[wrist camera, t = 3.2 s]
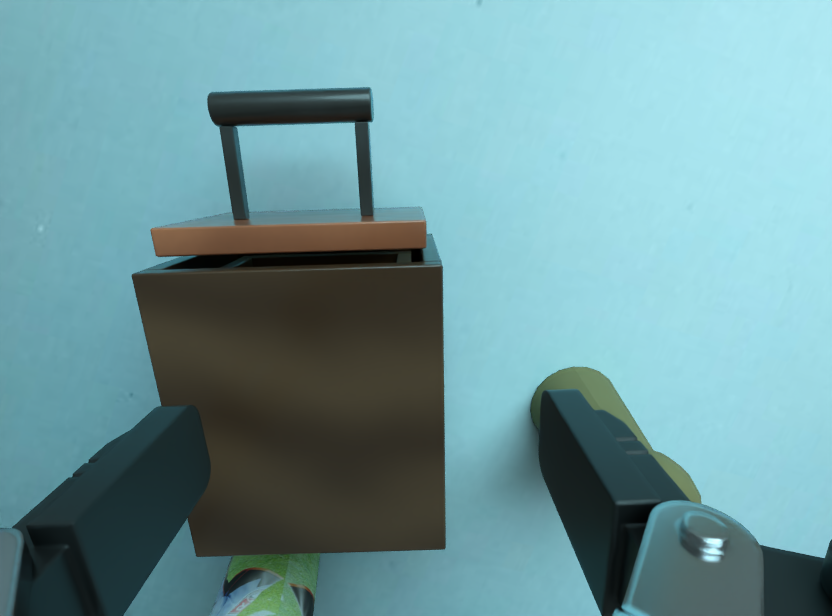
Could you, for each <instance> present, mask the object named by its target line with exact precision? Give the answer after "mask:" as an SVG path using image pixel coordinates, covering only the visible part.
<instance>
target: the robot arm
mask: <svg viewBox="0 0 832 616" xmlns="http://www.w3.org/2000/svg"><path fill="white" fill-rule="evenodd" d="M539 461H540V467H541V472H542V475H543V478H544V480H545V483H546V485H547V487H548V490H549V492H550V494H551V497H552V499H553V502H554V504H555V506H556V509H557V511H558V513H559V516H560V518H561V520H562V523H563V525H564V528H565V530H566V532H567V535H568V537H569V539H570V542H571V544H572V546H573V549H574V551H575V554H576V556H577V558H578V561H579V563H580V565H581V568H582V570H583V572H584V575H585V577H586V580H587V582H588V584H589V587H590V589H591V591H592V594H593V596H594V598H595V601H596V603H597V606H598V608H599V610H600V613H601V615H602V616H832V540H831V541H830V543H829V547H828V550H827V553H826V556H825V558H820V557H815V556H810V555H805V554H800V553H795V552H790V551H785V550H780V549H776V548H771V547H767V546H763V545H759V543H758V542H757V540H756V539H755V538H754V536H753V535H752V534H751V533H750V532H749V531H748V530H747V529H746V528H745V527H744V526H743V525H741V524H740V523H739V522H737V521H736V520H735V519H733V518H731V517H730V516H728V515H726V514H725V513H723V512H721V511H718V510H716V509H714V508H711V507H709V506H706V505H703V504H700V503H695V502H691V501H690V500H689V498H688V497H687V496H686V495H685V494H684V493H683V491H682V490H681V489H680V488H679V487H678V485H677V484H676V483H675V482H674V481H673V479H672V478H671V477H670V476H669V475H668V474H667V472H666V471H665V470H664V469H663V468H662V466H661V465H660V464H659V463H658V462H657V460H656V459H655V458H654V457H653V456H652V454H649V453H648V450H647V449H646V447H645V446H644V445H643V444H642V443H641V441H638V440H637V437H636V435H635V434H634V433H633V432H632V431H631V430H630V428H629V427H628V426H627V425H626V424H625V422H623V421H622V420H620V419H618V418H617V417H615V416H614V415H612V414H610V413H609V412H607V411H605V410H594V409H593V408H592V407H591V405H590V404H589V403H588V401H587V400H586V399H585V397H584V396H583V395H582V393H581V392H580V391H579V390H578V389H561V390H544V391H543V392H542V395H541V406H540V428H539ZM210 474H211V462H210V457H209V453H208V448H207V444H206V439H205V435H204V431H203V426H202V422H201V417H200V414H199V411H198V409H197V408H196V407H195V406H193V405H179V406H160V407H156V408H155V409H154V410H152V411H151V412H150V413H149V414H148V415H147V416H146V417H145V418H144V419H142V420H141V421H140V422H139V423H138V424H137V425H136V426H135V427H134V428H133V429H131V430H130V431H128V432H126V433H125V434H123V435H121V436H120V437H118V438H116V439H114V440H113V441H111V442H109V443H107V444H106V445H105V446H104V447H103V448H102V449H101V450H99V451H98V452H97V453H96V454H95V455H94V456H93V457H91V458H90V459H89V462H88V463H85V464H84V465H82V466H81V467H80V468H79V469H78V470H77V471H76V472H74V473H73V477H71V478H68V479H66V480H65V481H64V482H63V483H62V484H61V485H60V486H59V487H57V488H56V489H55V490H54V491H53V492H52V493H51V494H49V495H48V496H47V497H46V498H45V499H44V500H43V501H42V502H40V503H39V504H38V505H37V506H36V507H35V508H34V509H32V510H31V511H30V512H29V513H28V514H27V515H26V516H24V517H23V518H22V519H21V520H20V521H19V522H18V523H17V524H15V525H14V526H13V527H12V528H0V616H123V615H124V613H125V612H126V610H127V609H128V607H129V606H130V604H131V603H132V601H133V600H134V598H135V597H136V595H137V594H138V592H139V591H140V589H141V587H142V586H143V584H144V583H145V581H146V580H147V578H148V577H149V575H150V574H151V572H152V571H153V569H154V568H155V566H156V565H157V563H158V562H159V560H160V559H161V557H162V556H163V554H164V553H165V551H166V550H167V548H168V546H169V545H170V543H171V542H172V540H173V539H174V537H175V536H176V534H177V533H178V531H179V530H180V528H181V527H182V525H183V524H184V522H185V521H186V519H187V518H188V516H189V515H190V513H191V512H192V510H193V509H194V507H195V505H196V504H197V502H198V501H199V499H200V498H201V496H202V495H203V493H204V492H205V490H206V488H207V486H208V483H209V480H210Z"/></svg>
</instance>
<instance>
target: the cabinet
mask: <svg viewBox="0 0 832 616" xmlns="http://www.w3.org/2000/svg"><path fill="white" fill-rule="evenodd" d="M386 251H411V252H412V262H400V263H367V264H335V265H302V266H269V267H236V268H220V267H222V266H224V265H226V264H229V263H231V262H233V261H235V260H237V259H239V258H241V257H243V256H255V255H287V254H320V253H353V252H386ZM132 280H133V284H134V288H135V293H136V297H137V301H138V306H139V310H140V314H141V319H142V323H143V327H144V332H145V336H146V340H147V345H148V349H149V353H150V358H151V362H152V366H153V371H154V375H155V379H156V384H157V388H158V392H159V397H160V401H161V405H162V406H179V405H193V406H195V407H196V408H197V409H198V411H199V414H200V417H201V422H202V426H203V431H204V435H205V439H206V444H207V448H208V453H209V457H210V462H211V474H210V480H209V483H208V486H207V488H206V490H205V492H204V493H203V495H202V496H201V498H200V499H199V501H198V502H197V504H196V505H195V507H194V509H193V510H192V512H191V513H190V515H189V516H188V522H189V527H190V531H191V535H192V540H193V544H194V548H195V553H196V556H197V557H210V556H243V555H277V554H310V553H343V552H376V551H410V550H443V549H445V548H446V521H445V430H444V340H443V266H442V263H441V259H440V256H439V254H438V251H437V248H436V245H435V242H434V239H433V236H432V234H427V247H426V248H425V249H398V250H365V251H332V252H300V253H267V254H234V255H202V256H182V257H179V258H176V259H173V260H171V261H168V262H165V263H162V264H159V265H156V266H153V267H151V268H148V269H145V270H143V271H140V272H137V273H134V274H132Z"/></svg>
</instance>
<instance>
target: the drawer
mask: <svg viewBox="0 0 832 616" xmlns="http://www.w3.org/2000/svg"><path fill="white" fill-rule="evenodd" d="M208 110H209V114H210V117H211V119H212V121H213V123H214V124H215V125H216V126H218V127H220V134H221V140H222V147H223V153H224V160H225V166H226V173H227V180H228V186H229V193H230V199H231V206H232V212H233V213H225V214H220V215H215V216H210V217H205V218H200V219H195V220H190V221H185V222H180V223H175V224H170V225H165V226H160V227H155V228H152V229H151V235H152V240H153V244H154V249H155V254H156V256H158V257H169V256H202V255H234V254H267V253H300V252H332V251H365V250H398V249H425V248H426V247H427V233H426V220H425V216H424V213H423V210H422V207H401V208H374V199H373V181H372V164H371V146H370V129H369V123H368V122H373V119H374V109H373V96H372V90H371V88H370V87H360V88H328V89H295V90H263V91H230V92H211V93H209V95H208ZM328 123H355V135H356V150H357V165H358V180H359V196H360V209H336V210H303V211H270V212H249V209H248V202H247V195H246V188H245V181H244V174H243V167H242V160H241V153H240V145H239V138H238V131H237V127H234V126H263V125H295V124H328ZM400 262H412V252H411V251H386V252H353V253H320V254H287V255H255V256H243V257H241V258H239V259H237V260H235V261H233V262H231V263H229V264H226V265H224V266H222V267H220V268H236V267H269V266H302V265H335V264H367V263H400Z"/></svg>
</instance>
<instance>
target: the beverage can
mask: <svg viewBox="0 0 832 616" xmlns="http://www.w3.org/2000/svg"><path fill="white" fill-rule="evenodd" d="M319 559H320V553H310V554H277V555H243V556H232V558H231V561H230V563H229V566H228V569H227V571H226V574H225V577H224V579H223V582H222V585H221V587H220V590H219V593H218V595H217V598H216V601H215V603H214V606H213V609H212V611H211V614H210V616H313V611H314V602H315V593H316V585H317V576H318V567H319Z"/></svg>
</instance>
